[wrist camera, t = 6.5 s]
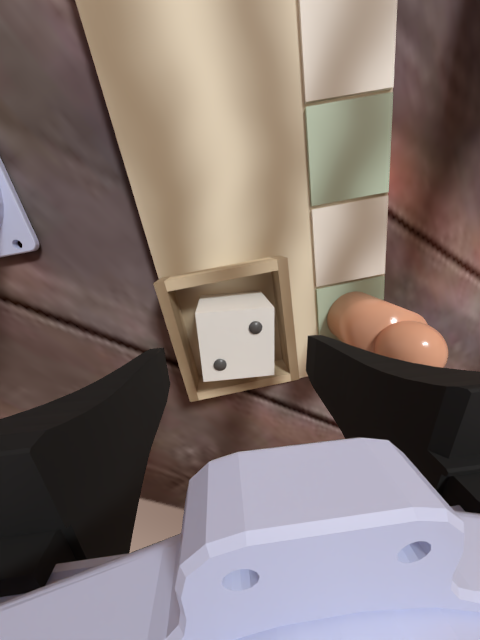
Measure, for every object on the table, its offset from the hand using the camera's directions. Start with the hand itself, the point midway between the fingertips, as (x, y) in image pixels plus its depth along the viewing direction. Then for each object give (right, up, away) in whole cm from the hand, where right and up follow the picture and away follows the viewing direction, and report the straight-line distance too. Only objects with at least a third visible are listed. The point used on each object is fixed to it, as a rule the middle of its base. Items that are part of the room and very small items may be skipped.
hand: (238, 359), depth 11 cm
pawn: (+8, +2, +5) cm, 10 cm away
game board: (+2, +10, +3) cm, 10 cm away
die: (0, +2, +4) cm, 5 cm away
